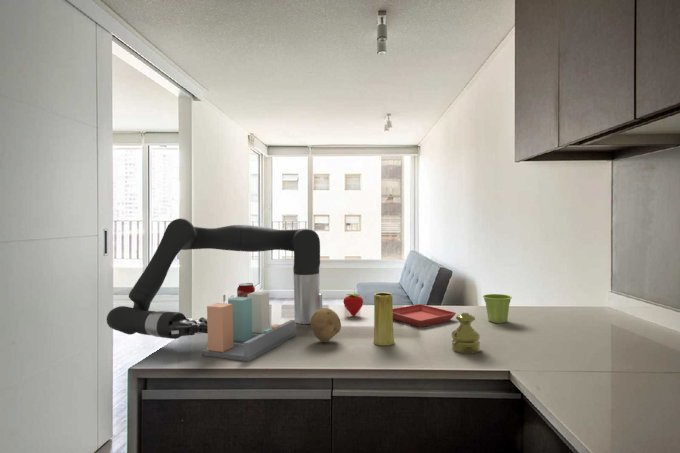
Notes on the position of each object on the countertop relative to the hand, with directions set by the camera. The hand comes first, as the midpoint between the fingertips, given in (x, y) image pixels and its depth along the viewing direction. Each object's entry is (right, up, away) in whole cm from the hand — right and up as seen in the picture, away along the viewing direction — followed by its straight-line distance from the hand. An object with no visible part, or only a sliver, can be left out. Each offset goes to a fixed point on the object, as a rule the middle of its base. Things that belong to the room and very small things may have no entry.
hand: (213, 329), depth 112 cm
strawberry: (+40, -5, +40) cm, 57 cm away
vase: (+48, -6, +6) cm, 49 cm away
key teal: (+6, -5, +8) cm, 11 cm away
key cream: (+9, -5, +17) cm, 20 cm away
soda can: (-1, -6, +45) cm, 46 cm away
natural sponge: (+31, -6, +8) cm, 33 cm away
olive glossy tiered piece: (+70, -5, -2) cm, 70 cm away
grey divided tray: (+9, -6, +6) cm, 13 cm away
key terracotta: (+2, -5, -1) cm, 6 cm away
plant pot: (+90, -5, +28) cm, 94 cm away
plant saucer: (+64, -5, +33) cm, 72 cm away
